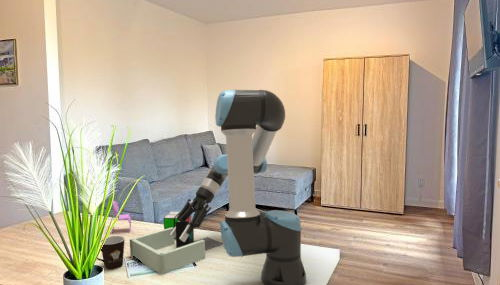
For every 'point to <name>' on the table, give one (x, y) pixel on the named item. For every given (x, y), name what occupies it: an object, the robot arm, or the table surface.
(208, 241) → the coaster
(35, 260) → the table surface
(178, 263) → the bay
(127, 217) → the toy chair
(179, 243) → the speaker
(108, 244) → the coffee mug
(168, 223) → the puzzle cube
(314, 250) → the table surface
